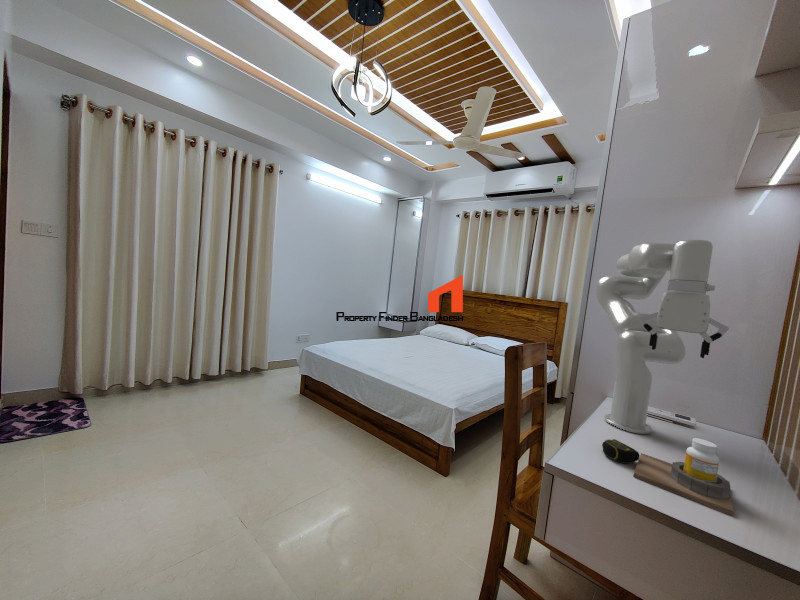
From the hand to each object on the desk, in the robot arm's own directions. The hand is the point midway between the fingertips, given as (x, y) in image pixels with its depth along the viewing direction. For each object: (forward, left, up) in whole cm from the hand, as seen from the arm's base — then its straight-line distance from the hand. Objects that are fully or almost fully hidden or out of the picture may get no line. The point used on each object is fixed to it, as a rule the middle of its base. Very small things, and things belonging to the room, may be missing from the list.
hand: (676, 353), depth 83 cm
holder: (+12, +4, -28) cm, 31 cm away
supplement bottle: (+12, +7, -28) cm, 31 cm away
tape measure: (+11, -8, -29) cm, 32 cm away
